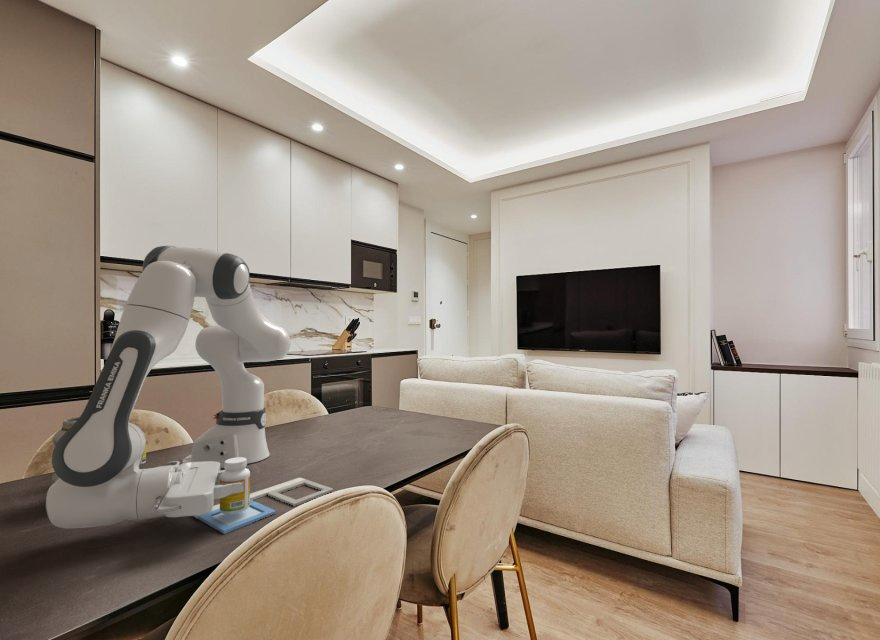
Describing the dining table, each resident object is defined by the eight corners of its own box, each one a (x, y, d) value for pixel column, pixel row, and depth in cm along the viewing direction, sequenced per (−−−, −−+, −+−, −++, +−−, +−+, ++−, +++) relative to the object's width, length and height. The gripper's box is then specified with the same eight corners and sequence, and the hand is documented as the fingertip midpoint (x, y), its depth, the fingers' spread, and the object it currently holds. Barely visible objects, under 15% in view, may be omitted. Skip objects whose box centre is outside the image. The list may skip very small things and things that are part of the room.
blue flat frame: (224, 534, 76) (224, 530, 76) (192, 515, 83) (192, 512, 83) (333, 491, 96) (333, 488, 96) (300, 479, 104) (300, 477, 104)
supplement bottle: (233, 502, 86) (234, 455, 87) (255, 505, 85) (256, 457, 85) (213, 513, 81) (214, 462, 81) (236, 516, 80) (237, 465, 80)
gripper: (148, 494, 69) (241, 481, 74) (171, 459, 87) (244, 451, 93) (148, 532, 69) (241, 517, 74) (170, 489, 87) (243, 480, 93)
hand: (242, 480), depth 84 cm, fingers closed on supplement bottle, 5 cm apart
